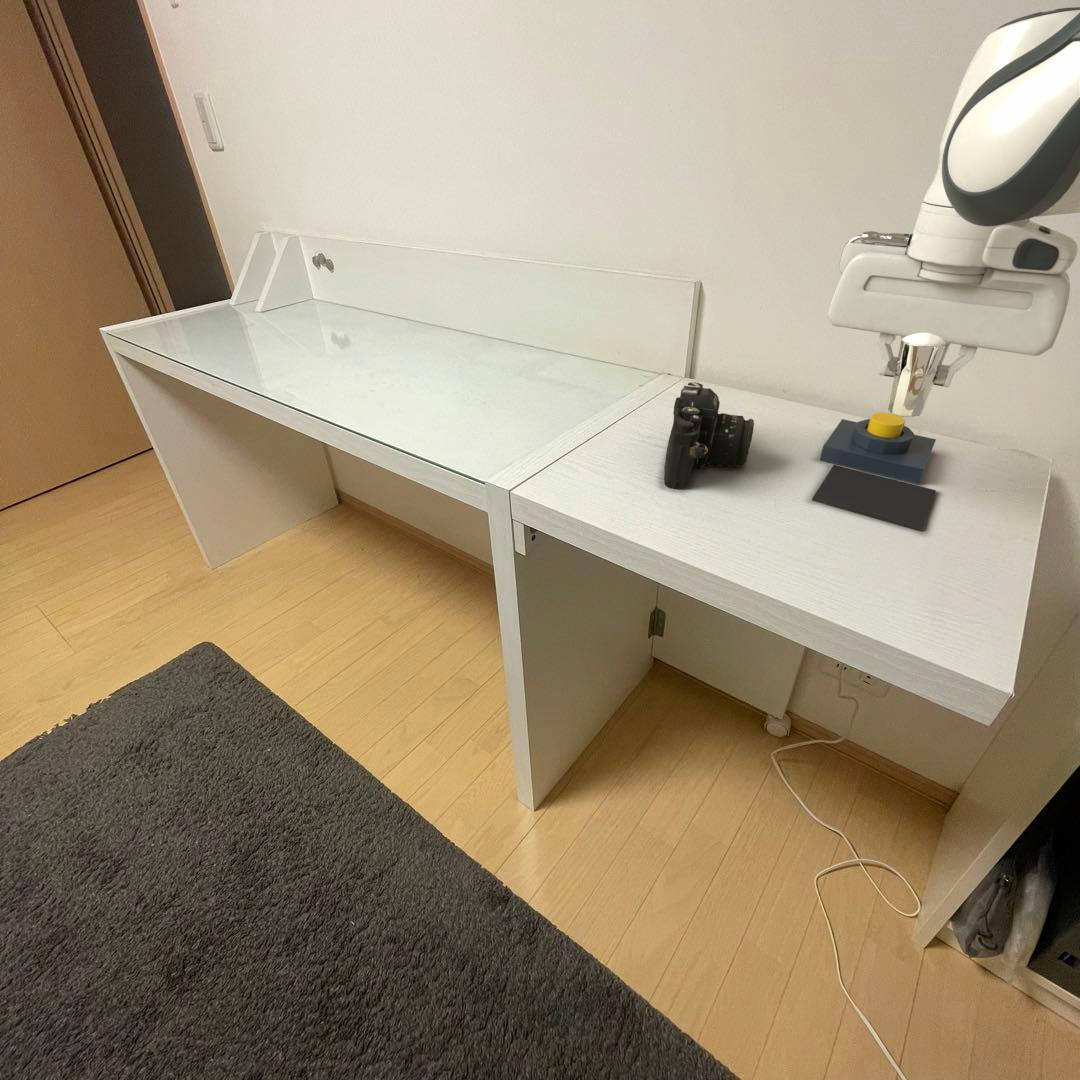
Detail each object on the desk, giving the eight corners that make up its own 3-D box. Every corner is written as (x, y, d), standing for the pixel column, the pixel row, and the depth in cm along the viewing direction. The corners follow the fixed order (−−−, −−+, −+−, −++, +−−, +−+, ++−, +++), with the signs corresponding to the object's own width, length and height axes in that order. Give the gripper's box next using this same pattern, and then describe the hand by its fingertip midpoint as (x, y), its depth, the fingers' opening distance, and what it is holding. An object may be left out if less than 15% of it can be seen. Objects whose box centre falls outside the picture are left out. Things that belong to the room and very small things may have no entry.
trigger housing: (930, 453, 83) (941, 426, 81) (918, 484, 77) (929, 456, 74) (838, 432, 89) (845, 407, 87) (819, 460, 82) (826, 433, 80)
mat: (934, 492, 75) (936, 490, 75) (921, 531, 68) (923, 528, 68) (832, 467, 81) (833, 464, 80) (811, 500, 74) (812, 497, 74)
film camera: (768, 495, 75) (786, 420, 70) (668, 497, 75) (677, 422, 69) (729, 431, 90) (741, 365, 84) (646, 433, 90) (652, 367, 84)
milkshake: (914, 401, 70) (942, 310, 64) (935, 419, 65) (966, 323, 60) (873, 401, 70) (896, 311, 65) (890, 420, 66) (917, 325, 60)
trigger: (902, 430, 81) (907, 416, 80) (897, 442, 78) (902, 427, 77) (870, 424, 83) (874, 409, 82) (863, 434, 80) (868, 420, 79)
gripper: (840, 234, 60) (807, 370, 68) (1098, 255, 51) (1024, 410, 59) (855, 225, 65) (821, 354, 73) (1096, 242, 55) (1027, 389, 63)
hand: (914, 379), depth 66 cm, fingers closed on milkshake, 4 cm apart
